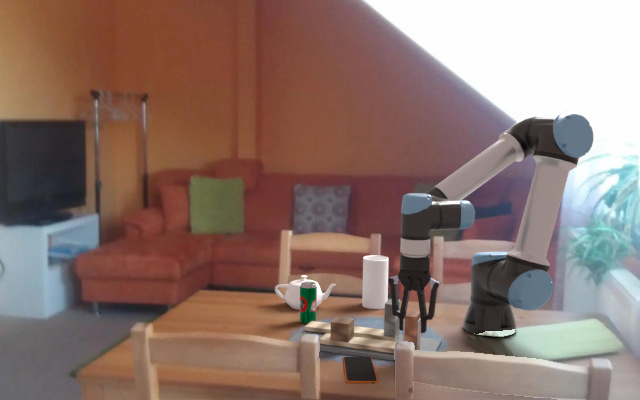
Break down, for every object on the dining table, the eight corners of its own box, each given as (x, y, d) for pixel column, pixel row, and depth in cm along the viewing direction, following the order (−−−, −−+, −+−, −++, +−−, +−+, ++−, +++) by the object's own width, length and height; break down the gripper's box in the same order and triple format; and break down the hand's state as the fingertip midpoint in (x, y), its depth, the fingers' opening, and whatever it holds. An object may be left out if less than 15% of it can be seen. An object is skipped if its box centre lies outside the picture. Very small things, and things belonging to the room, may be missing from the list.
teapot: (337, 302, 228) (337, 272, 227) (334, 312, 216) (334, 281, 215) (278, 299, 230) (278, 270, 229) (271, 310, 218) (271, 279, 217)
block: (353, 336, 185) (354, 318, 184) (348, 342, 180) (348, 324, 179) (336, 334, 186) (336, 316, 186) (330, 340, 182) (330, 322, 181)
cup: (367, 309, 219) (368, 261, 217) (358, 303, 227) (359, 255, 225) (391, 308, 222) (392, 259, 220) (382, 301, 229) (383, 254, 227)
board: (441, 343, 188) (441, 339, 188) (429, 365, 171) (429, 361, 171) (308, 326, 201) (308, 323, 201) (285, 346, 184) (285, 342, 184)
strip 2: (419, 349, 179) (421, 311, 178) (415, 356, 174) (416, 317, 172) (326, 337, 188) (326, 301, 186) (319, 343, 182) (319, 306, 181)
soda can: (314, 325, 203) (314, 285, 201) (297, 323, 204) (298, 284, 202) (317, 320, 208) (318, 281, 206) (301, 319, 209) (302, 280, 207)
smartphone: (371, 359, 176) (371, 356, 176) (378, 385, 159) (378, 381, 159) (342, 359, 176) (342, 355, 176) (345, 384, 159) (345, 381, 159)
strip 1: (399, 335, 190) (400, 299, 189) (394, 341, 185) (395, 304, 183) (311, 324, 199) (312, 290, 197) (304, 330, 193) (305, 295, 192)
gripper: (449, 254, 174) (446, 343, 177) (387, 249, 180) (385, 335, 183) (444, 259, 167) (440, 352, 170) (380, 254, 173) (378, 344, 176)
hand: (412, 343), depth 177 cm, fingers closed on strip 2, 3 cm apart
